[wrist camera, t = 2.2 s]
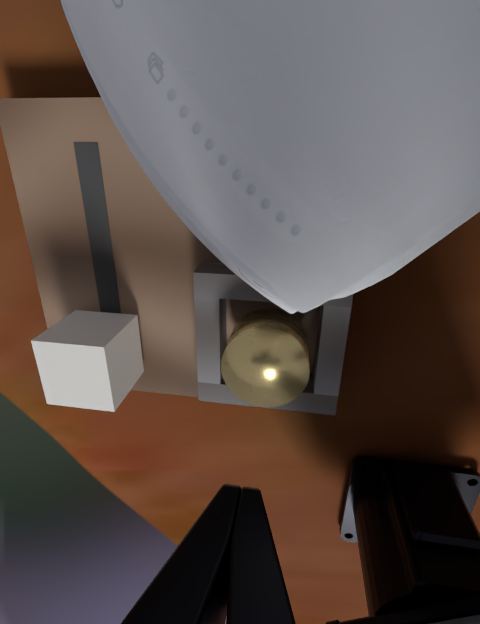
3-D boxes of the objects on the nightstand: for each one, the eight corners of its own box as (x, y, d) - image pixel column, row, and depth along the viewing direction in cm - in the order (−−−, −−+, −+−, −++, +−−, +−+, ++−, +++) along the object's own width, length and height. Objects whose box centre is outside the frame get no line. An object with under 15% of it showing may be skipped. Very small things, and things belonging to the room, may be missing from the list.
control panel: (327, 392, 18) (332, 433, 16) (76, 367, 20) (41, 400, 17) (366, 100, 13) (384, 85, 10) (22, 104, 15) (-40, 91, 12)
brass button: (304, 380, 15) (305, 411, 13) (230, 373, 15) (221, 402, 14) (311, 311, 14) (313, 335, 12) (230, 305, 14) (220, 327, 12)
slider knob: (143, 371, 17) (114, 411, 14) (86, 365, 18) (47, 403, 15) (137, 314, 16) (104, 347, 13) (75, 310, 16) (30, 340, 14)
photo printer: (830, -9, 7) (294, 372, 6) (588, 117, 11) (260, 347, 10) (537, -512, 6) (-83, -178, 5) (405, -176, 11) (48, 39, 10)
